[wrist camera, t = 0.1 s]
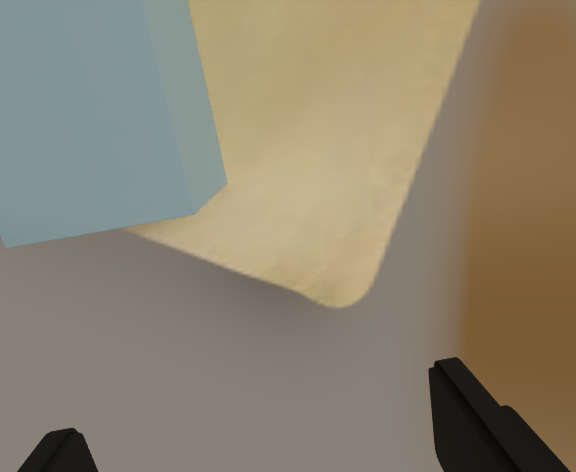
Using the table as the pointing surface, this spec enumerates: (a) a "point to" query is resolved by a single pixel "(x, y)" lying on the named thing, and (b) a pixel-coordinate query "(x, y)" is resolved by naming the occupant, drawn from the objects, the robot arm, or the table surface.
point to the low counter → (101, 118)
